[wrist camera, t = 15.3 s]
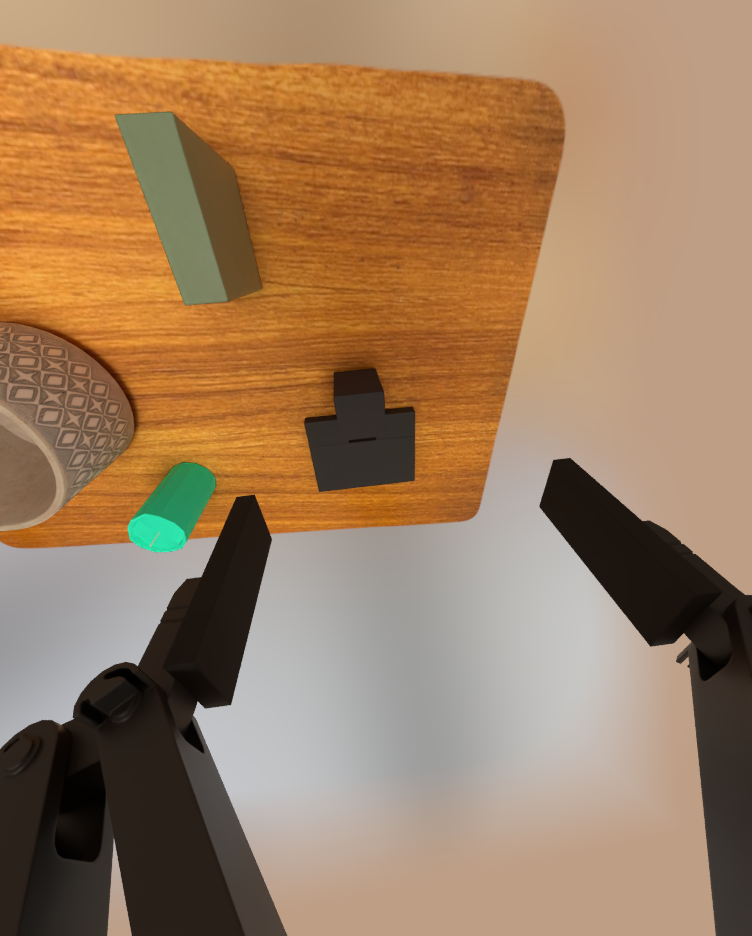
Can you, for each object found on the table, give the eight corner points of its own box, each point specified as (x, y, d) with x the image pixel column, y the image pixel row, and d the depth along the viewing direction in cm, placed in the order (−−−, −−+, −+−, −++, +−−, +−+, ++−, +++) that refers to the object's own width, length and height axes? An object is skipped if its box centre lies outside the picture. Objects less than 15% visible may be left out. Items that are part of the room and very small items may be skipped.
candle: (219, 469, 42) (184, 533, 32) (213, 501, 45) (178, 568, 35) (171, 456, 40) (117, 520, 31) (167, 490, 43) (117, 558, 33)
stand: (233, 167, 26) (171, 111, 16) (262, 289, 31) (228, 302, 21) (198, 169, 26) (113, 113, 16) (232, 291, 31) (184, 305, 21)
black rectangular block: (375, 368, 37) (384, 391, 30) (379, 428, 41) (387, 459, 35) (333, 372, 37) (333, 396, 30) (342, 432, 41) (343, 464, 35)
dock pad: (412, 406, 40) (415, 411, 39) (412, 475, 46) (414, 480, 45) (305, 418, 40) (304, 423, 38) (319, 485, 46) (319, 492, 44)
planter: (82, 308, 31) (-50, 332, 20) (166, 448, 40) (105, 515, 29) (-86, 333, 30) (-309, 371, 20) (38, 469, 40) (-69, 544, 29)
